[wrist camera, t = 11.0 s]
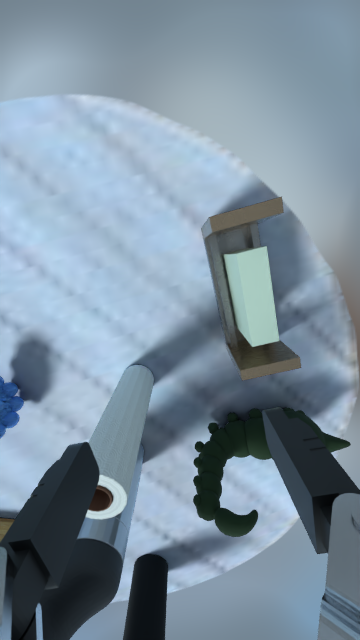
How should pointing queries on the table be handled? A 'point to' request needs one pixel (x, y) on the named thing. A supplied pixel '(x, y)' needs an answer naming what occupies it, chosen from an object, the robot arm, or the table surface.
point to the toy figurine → (240, 443)
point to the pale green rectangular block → (252, 294)
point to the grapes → (9, 405)
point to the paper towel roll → (120, 441)
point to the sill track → (220, 239)
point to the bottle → (147, 600)
